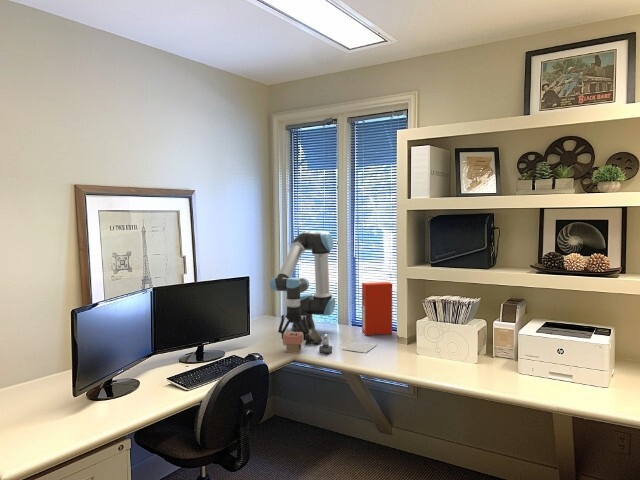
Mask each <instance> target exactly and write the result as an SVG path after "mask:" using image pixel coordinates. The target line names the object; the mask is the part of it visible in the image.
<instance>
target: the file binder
mask: <svg viewBox="0 0 640 480" xmlns="http://www.w3.org/2000/svg"><path fill="white" fill-rule="evenodd" d="M361 333H362V334H363V333H364V334H365V335H367V336H374V335H373V334H384V335H392V334H393V283H392V282H388V281H385V282H384V281H382V282H362V283H361ZM391 333H392V334H391ZM364 334H363V335H364ZM365 335H364V336H365Z"/></svg>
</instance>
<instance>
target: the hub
mask: <svg viewBox="0 0 640 480" xmlns="http://www.w3.org/2000/svg"><path fill="white" fill-rule="evenodd" d="M329 339H330V338H329V337H328V334H327V333H324V334H323V337H322V345H320V346H318V347H319V349H318V352H319V354H320V355H330V354H333V347H332V346H331V345H330V340H329Z"/></svg>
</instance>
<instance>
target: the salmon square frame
mask: <svg viewBox="0 0 640 480" xmlns="http://www.w3.org/2000/svg"><path fill="white" fill-rule="evenodd" d="M285 333H286V334H285V335H284V336H283V339H282V344H301V345H302V334H303V333H302V332H296V331H286V332H285ZM292 333H296V336H295V335H292Z"/></svg>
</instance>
